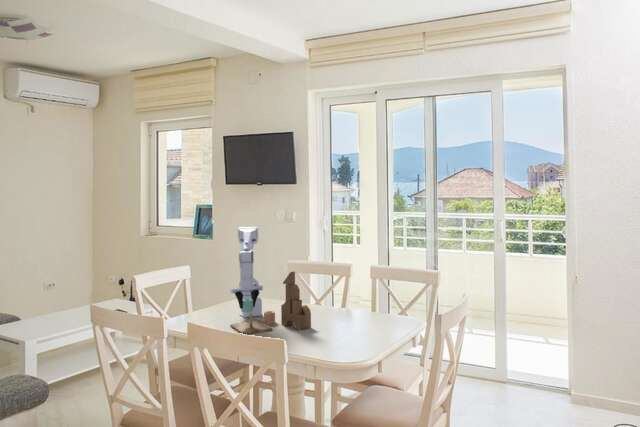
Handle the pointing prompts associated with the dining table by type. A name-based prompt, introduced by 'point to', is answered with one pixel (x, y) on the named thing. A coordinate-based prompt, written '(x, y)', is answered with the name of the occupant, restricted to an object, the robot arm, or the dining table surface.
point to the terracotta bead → (269, 317)
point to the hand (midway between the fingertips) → (247, 307)
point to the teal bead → (247, 305)
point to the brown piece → (251, 327)
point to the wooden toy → (294, 306)
